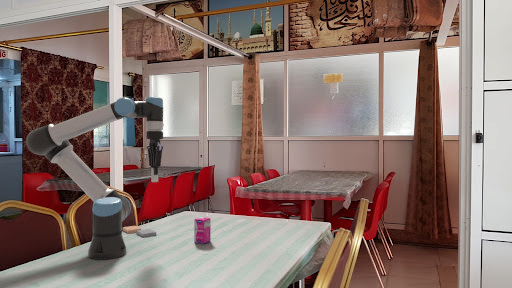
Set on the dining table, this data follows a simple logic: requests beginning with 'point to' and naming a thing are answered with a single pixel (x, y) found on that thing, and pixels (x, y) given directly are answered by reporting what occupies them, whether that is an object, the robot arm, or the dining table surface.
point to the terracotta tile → (131, 229)
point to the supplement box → (202, 230)
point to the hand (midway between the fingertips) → (154, 181)
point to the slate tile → (146, 233)
